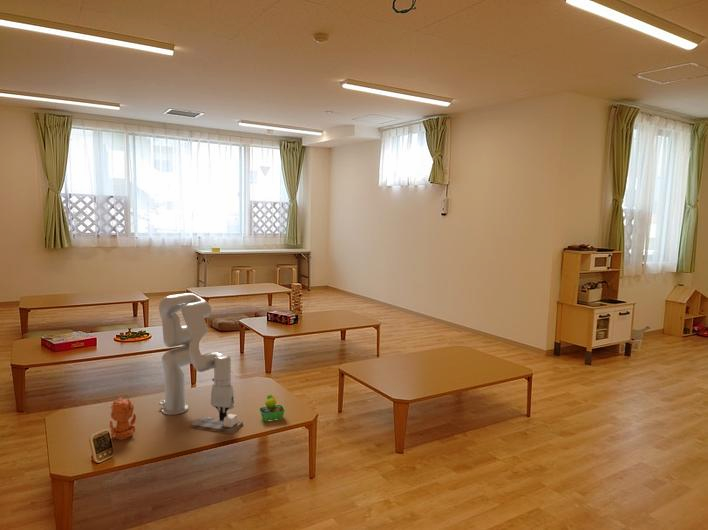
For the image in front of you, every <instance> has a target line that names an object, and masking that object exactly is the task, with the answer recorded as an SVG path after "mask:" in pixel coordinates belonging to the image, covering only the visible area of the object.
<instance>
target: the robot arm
mask: <svg viewBox="0 0 708 530" xmlns="http://www.w3.org/2000/svg"><path fill="white" fill-rule="evenodd" d="M158 312H159V314H160V318H161V323H162V324H161V325H162V338H163V343H164V346H165V347H166V348H167V347H168V348H173V349H169V350H167V351H165V352H164V353H163V355H162V356H161V365H162V368H163V374H164V375H163V377H164V381H163V382H164V399H160V400H159V403H158V406H162V408H161V413H163V414H164V415H169V416H172V415H173V416H175V415H179V414H182V413H185V412H187V411H188V410H189V405H188V404H186V394H185V392H186V391H185V389H186V388H185V374H184V372H183V370H182V369H181V368H182V367H184V366H188V365H190V364H192V366H193V368H194V369H195V370H196V371H197V372H200V373H203V372H206V371H209V370H212V369H213V373H214V377H213V378H212V379H211V381H212V382H213V384H212V387H211V392H210V405H211V406H212V407H213V408H216V409H217V411H218V415H219V416H218V417H219V418H220V421H221V420H222V421H224V417H226V416H227V415H228V413H227V412H228V410H233V409H234V408H235V406H234V404H235V394H234V392H235V391H234V388H233V387H234V386H233V384H232V370H231V369H232V367H231V366H232V362H231V361H232V358H231V356H229V355H227V354H223V353H221V352H220V351H212V352H208V353H204V354H202V353H201V350H200V343H201V340H202V339H203V338H204V337H205V336H206V335H207V334H208V333H209V327H208V324H207V323H206V318H209V317H210V316H211V315H212V306H211V305H210V304H209V302H208V301H207V300H206V299H204V298H202V297H200V296H198V295H197V294H195V293H193V292H186V293H184V292H183V293H177V294H171V295H167V296H164V297H162V298H161V300H160V301H159V304H158ZM178 312H181V314H182V317H183V320H184V322H185V324H186V325H182V324H181V319H180V316H179V315H178ZM179 346H182V347H179ZM174 347H176V348H174Z"/></svg>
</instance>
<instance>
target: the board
mask: <svg viewBox="0 0 708 530" xmlns="http://www.w3.org/2000/svg"><path fill="white" fill-rule="evenodd" d="M243 424H244V423H243V421H240V420H239V421H238V420H237V423H236V424H235V425H234V426H233V427H226V426H224V421H222V420H221V421H220V418H218V417H211V416H205V415H201V416H200V417H198V418H197V419H195V420H194V421H193V422H191V423H189V428H192V429H198V430H205V431H211V432H216V431H217V433H222V434H230V435H233V434H234V433H235V432H236V431H237V430H239V429H240V428H241V427H242V426H243Z"/></svg>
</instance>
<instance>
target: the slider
mask: <svg viewBox="0 0 708 530" xmlns="http://www.w3.org/2000/svg"><path fill="white" fill-rule="evenodd" d="M237 421H238V414H233V413H227V416H226V417H224V426H226V427H233V426H234V425H235V424H236V423H237Z"/></svg>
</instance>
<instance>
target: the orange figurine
mask: <svg viewBox="0 0 708 530" xmlns="http://www.w3.org/2000/svg"><path fill="white" fill-rule="evenodd" d="M112 402H113V403H111V406H110V408H111V411H110V417H111V418H110V419H112V420H113V421H116V426H114V425H113V421H112V420H110V421H109V428H110V436H111V437H110V438H112V439H116V440H121V441H122V440H126V439H128V438H130V437H132V436H133V435H132V434H134V433H135V432H136V426H135V425H134V424H135V422H136V419H137V416H136V415H137V414H136V413H134V409H135V407H134V404H133V403H132V402H131V400H130V399H129V398H127V399H126V398H123V397H121V396H118V399H116V400H113V401H112ZM131 417H132V419H131ZM130 419H131V421H130V422H129V420H130Z"/></svg>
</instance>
